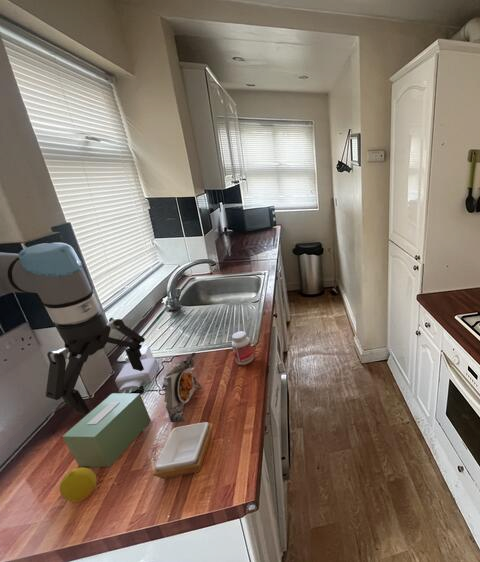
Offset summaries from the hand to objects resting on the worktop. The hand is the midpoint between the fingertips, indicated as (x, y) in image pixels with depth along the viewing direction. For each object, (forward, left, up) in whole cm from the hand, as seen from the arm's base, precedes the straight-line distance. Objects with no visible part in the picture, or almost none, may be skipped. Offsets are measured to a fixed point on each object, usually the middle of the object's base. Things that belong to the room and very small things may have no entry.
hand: (113, 388), depth 74 cm
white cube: (-23, +32, -18) cm, 43 cm away
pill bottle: (+14, +35, -18) cm, 42 cm away
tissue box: (-5, 0, -18) cm, 18 cm away
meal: (+6, +14, -18) cm, 23 cm away
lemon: (-1, -14, -18) cm, 23 cm away
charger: (-17, +22, -18) cm, 33 cm away
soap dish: (+17, -4, -18) cm, 25 cm away
